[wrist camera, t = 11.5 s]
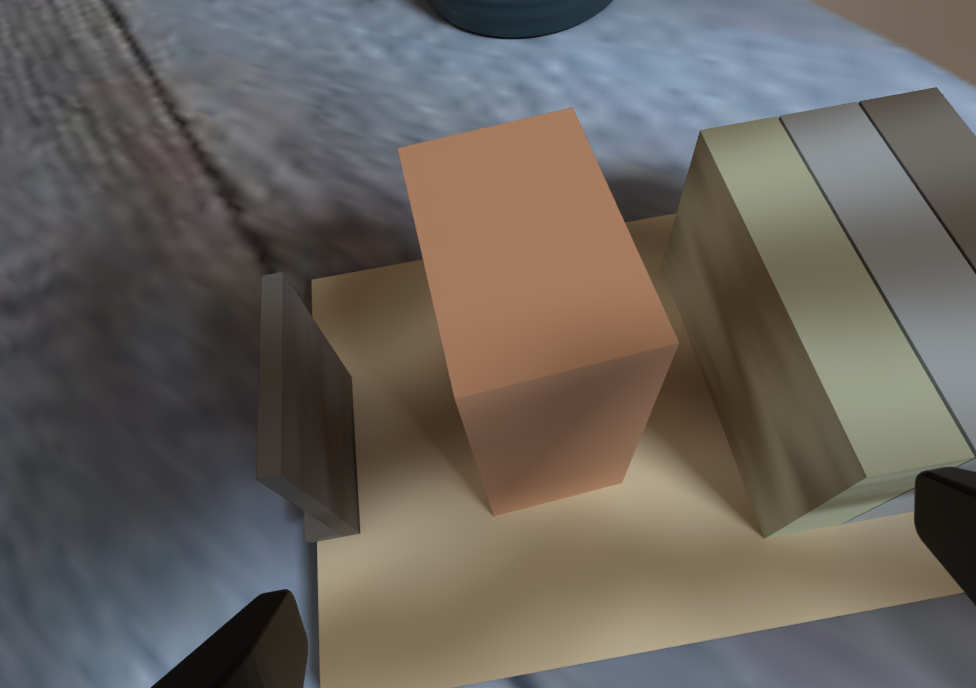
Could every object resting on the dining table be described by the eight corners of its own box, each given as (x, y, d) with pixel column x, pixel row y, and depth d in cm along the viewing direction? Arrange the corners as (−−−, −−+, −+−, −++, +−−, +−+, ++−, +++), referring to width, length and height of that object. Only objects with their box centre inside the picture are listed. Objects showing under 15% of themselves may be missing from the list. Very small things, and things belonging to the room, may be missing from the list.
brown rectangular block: (622, 483, 20) (679, 342, 12) (494, 516, 20) (455, 399, 12) (562, 314, 24) (572, 107, 15) (452, 341, 24) (397, 148, 15)
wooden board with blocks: (1007, 584, 19) (1297, 530, 12) (326, 711, 19) (188, 736, 12) (802, 210, 27) (899, 36, 20) (316, 299, 27) (229, 158, 20)
